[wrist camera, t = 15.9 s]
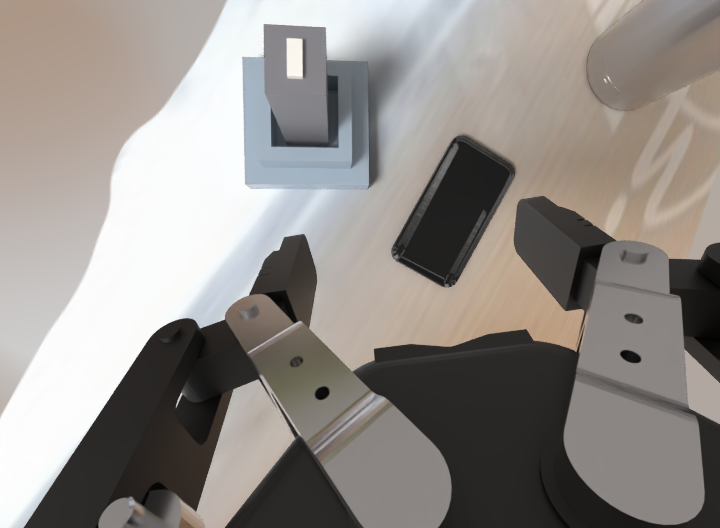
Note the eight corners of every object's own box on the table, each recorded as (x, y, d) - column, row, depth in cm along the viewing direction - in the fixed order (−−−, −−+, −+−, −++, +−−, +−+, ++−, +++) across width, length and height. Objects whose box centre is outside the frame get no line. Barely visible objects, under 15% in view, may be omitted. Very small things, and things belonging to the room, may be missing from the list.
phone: (388, 255, 33) (457, 131, 33) (386, 255, 34) (453, 135, 34) (452, 291, 34) (519, 169, 34) (448, 290, 35) (513, 172, 35)
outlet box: (248, 69, 32) (234, 39, 28) (366, 73, 33) (370, 45, 29) (250, 188, 32) (237, 178, 28) (366, 189, 33) (372, 179, 29)
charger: (286, 98, 31) (262, 20, 20) (328, 100, 31) (325, 24, 21) (287, 145, 31) (263, 90, 20) (328, 146, 31) (325, 93, 21)
